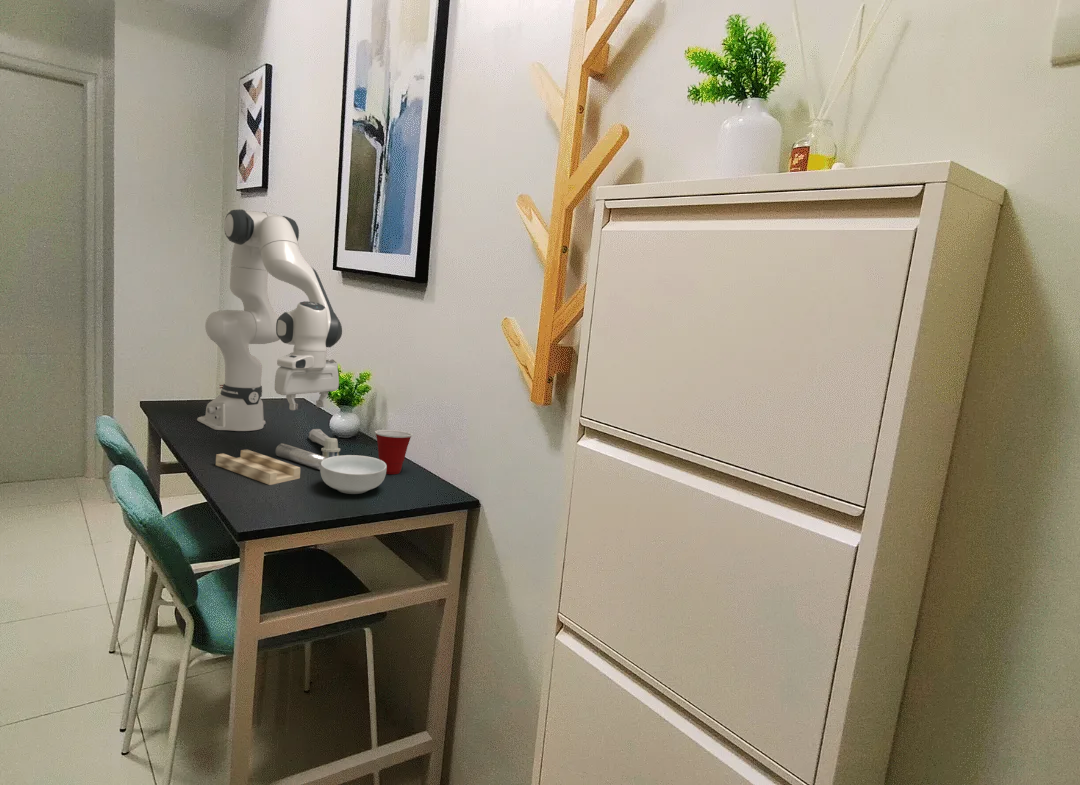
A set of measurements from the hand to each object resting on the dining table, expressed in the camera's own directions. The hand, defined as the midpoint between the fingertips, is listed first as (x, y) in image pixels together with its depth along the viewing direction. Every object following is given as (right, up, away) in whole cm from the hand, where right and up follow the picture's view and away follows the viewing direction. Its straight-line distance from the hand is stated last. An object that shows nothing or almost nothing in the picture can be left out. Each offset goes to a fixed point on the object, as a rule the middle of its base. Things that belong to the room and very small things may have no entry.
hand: (307, 408), depth 189 cm
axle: (-2, -16, +3) cm, 16 cm away
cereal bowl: (+17, -21, -15) cm, 31 cm away
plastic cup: (+23, -19, +5) cm, 30 cm away
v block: (-10, -17, -10) cm, 22 cm away
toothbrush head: (-2, -14, +20) cm, 24 cm away
